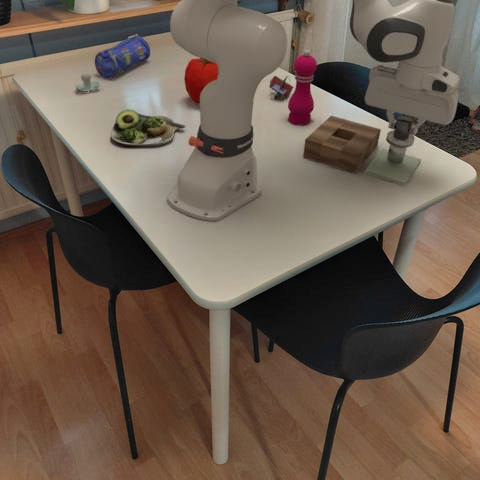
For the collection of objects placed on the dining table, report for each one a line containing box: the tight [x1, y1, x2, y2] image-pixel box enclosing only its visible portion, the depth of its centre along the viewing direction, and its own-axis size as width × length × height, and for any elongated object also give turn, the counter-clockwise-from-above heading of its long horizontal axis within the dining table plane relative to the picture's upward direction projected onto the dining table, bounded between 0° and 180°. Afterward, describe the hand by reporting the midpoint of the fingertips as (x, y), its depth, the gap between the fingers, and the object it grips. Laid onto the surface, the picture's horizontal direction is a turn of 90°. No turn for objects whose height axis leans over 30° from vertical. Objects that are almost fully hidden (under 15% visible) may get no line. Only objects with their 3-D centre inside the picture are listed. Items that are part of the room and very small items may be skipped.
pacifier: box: [75, 71, 100, 93], centre depth 154 cm, size 7×6×6 cm
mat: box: [364, 148, 422, 186], centre depth 125 cm, size 13×10×1 cm
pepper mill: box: [287, 49, 318, 126], centre depth 137 cm, size 7×7×20 cm
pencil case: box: [94, 33, 151, 79], centre depth 167 cm, size 22×9×10 cm, turn 155°
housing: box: [302, 115, 382, 174], centre depth 129 cm, size 16×14×5 cm
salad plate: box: [110, 109, 186, 148], centre depth 134 cm, size 19×18×5 cm
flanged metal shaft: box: [385, 115, 416, 164], centre depth 120 cm, size 6×6×11 cm
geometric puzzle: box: [268, 75, 295, 100], centre depth 154 cm, size 7×7×8 cm
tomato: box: [183, 57, 219, 105], centre depth 147 cm, size 13×13×13 cm
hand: (402, 130), depth 119 cm, fingers closed on flanged metal shaft, 4 cm apart
